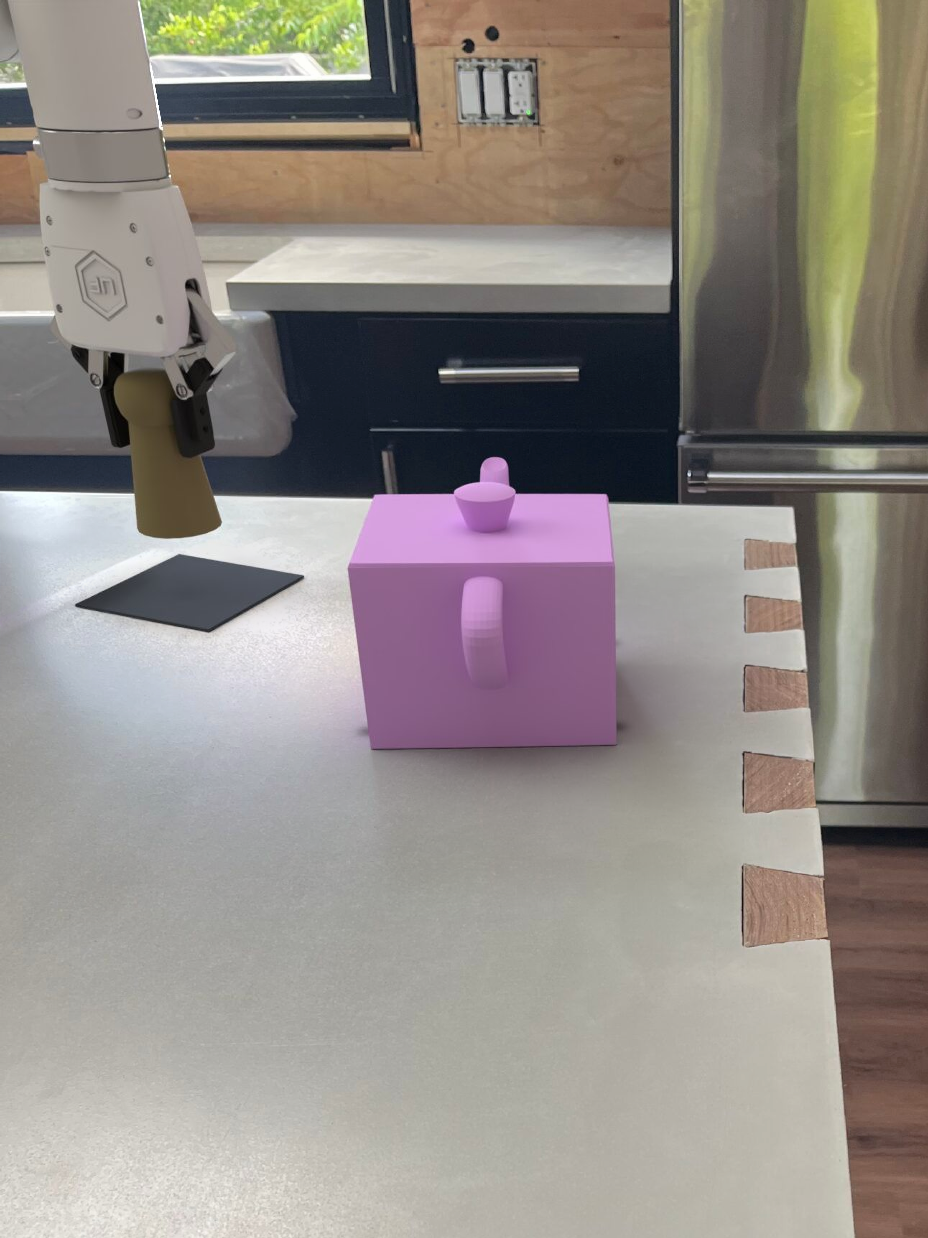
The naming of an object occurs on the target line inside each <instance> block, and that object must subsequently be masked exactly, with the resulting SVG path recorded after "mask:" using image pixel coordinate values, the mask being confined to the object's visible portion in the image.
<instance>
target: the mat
mask: <svg viewBox="0 0 928 1238" xmlns="http://www.w3.org/2000/svg"><path fill="white" fill-rule="evenodd" d="M303 579H305V575H304V574H299V573H293V572H287V571H280V570H275V569H269V568H264V567H257V566H251V565H245V564H240V563H234V562H228V561H222V560H216V559H211V558H205V557H199V556H193V555H189V554H181V553H177V554H176V555H174V556H172V557H169V558H167V559H166V560H164V561H162V562H160V563H157V564H155V565H153V566H151V567H149V568H146V569H145V570H143V571H140V572H139V573H136V574H134V575H132V576H130V577H128V578H126V579H124V580H122V581H120V582H118V583H116V584H114V585H112V586H109V587H107V588H106V589H103V590H101V591H99V592H97V593H95V594H94V595H91V596H88V597H87V598H85V599H83V600H80V601H78V602H77V603H74V606H75V608H81V609H86V610H91V611H95V612H102V613H108V614H113V615H118V616H123V617H129V618H134V619H139V620H144V621H149V622H154V623H159V624H165V625H169V626H170V625H171V626H175V627H180V628H185V629H186V628H187V629H191V630H196V631H202V632H206V633H210V632H211V631H213V630H216V629H217V628H219V627H220V626H222V625H224V624H226V623H227V622H229V621H231V620H233V619H234V618H237V617H238V616H239V615H242V614H243V613H245V612H246V611H248V610H251V609H252V608H254V607H256V606H257V605H259V604H261V603H263V602H264V601H266V600H268V599H269V598H272V597H273V596H275V595H276V594H278V593H280V592H282V591H283V590H285V589H287V588H289V587H290V586H292V585H294V584H296V583H298V582H299V581H301V580H303Z"/></svg>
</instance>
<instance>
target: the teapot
mask: <svg viewBox="0 0 928 1238" xmlns="http://www.w3.org/2000/svg"><path fill="white" fill-rule="evenodd" d="M479 471H480V474H479V481H477V482H472V483H471V482H470V483H468V484H464V485H461V486H460V487H458V488H456V489H454V491H453V493H418V494H417V493H411V494H410V493H409V494H407V493H404V494H403V493H401V494H400V493H399V494H397V493H395V494H391V493H390V494H389V493H388V494H373V498H372V501H371V503H370V506H369V509H368V511H367V514H366V517H365V519H364V522H363V525H362V528H361V530H360V533H359V536H358V539H357V541H356V544H355V546H354V548H353V552H352V555H351V557H350V560H349V562H348V564H347V574H348V575H347V577H348V583H349V591H350V598H351V607H352V614H353V615H352V616H353V621H354V629H355V635H356V636H355V637H356V644H357V645H356V646H357V653H358V660H359V668H360V676H361V684H362V691H363V700H364V707H365V714H366V722H367V730H368V731H367V732H368V737H369V738H368V739H369V746H370V750H390V749H398V750H399V749H447V748H448V749H451V748H452V749H454V748H455V749H457V748H460V749H461V748H511V747H516V748H517V747H520V748H521V747H564V746H567V747H569V746H571V747H572V746H573V747H575V746H577V747H578V746H617V745H618V741H617V735H618V734H617V732H618V731H617V638H616V637H617V633H616V631H617V630H616V629H617V625H616V619H617V618H616V562H615V552H614V543H613V532H612V523H611V515H610V514H611V513H610V512H611V511H610V504H609V496H608V495H607V494H606V493H516V489H514V488H513V486H510V477H509V475H510V474H509V465H508V463H507V461H506V460H505V459H504V458H503V457H498V456H492V457H489V458H486V459H485V460H484V461H483V462H482V464H481V467H480V470H479Z"/></svg>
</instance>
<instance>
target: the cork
mask: <svg viewBox="0 0 928 1238" xmlns="http://www.w3.org/2000/svg"><path fill="white" fill-rule="evenodd" d="M114 397H115V401H116V404H117V406H118V408H119V410H120V412H121V414H122V415H123V416H124V417H125V418H126V419H127V420H128V423H129V435H130V445H129V447H130V459H131V470H132V471H131V472H132V483H133V496H134V505H135V507H134V508H135V517H136V519H135V521H136V529H137V531H138V533H139V534H141V535H143V536H146V537H150V538H154V539H163V540H164V539H166V540H170V539H187V538H195V537H198V536H202V535H206V534H208V533H211V532H214V531H215V530H217V529H219V528H220V527H221V526H222V523H223V521H222V518H221V514H220V511H219V507H218V504H217V501H216V499H215V496H214V493H213V490H212V487H211V484H210V481H209V478H208V474H207V472H206V468H205V465H204V462H203V459H202V454H200V455H197V456H195V457H192V458H186V457H183V456H182V455H181V454H180V452H179V448H178V442H177V437H176V432H175V427H174V422H173V417H172V412H171V407H170V402H171V401H170V399H173V398H176V397H177V395H176V393H175V391H174V389H173V387H172V384H171V382H170V380H169V377H168V375H167V373H166V370H165V368H164V367H157V366H151V367H149V366H147V367H139V368H135V369H131V370H130V369H129V371H127V372H124V373H122V374H121V375H120V376H119V377H118V378H117V380H116V382H115V385H114Z"/></svg>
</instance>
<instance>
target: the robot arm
mask: <svg viewBox="0 0 928 1238" xmlns="http://www.w3.org/2000/svg"><path fill="white" fill-rule="evenodd" d="M147 42H148V41H147V37H146V31H145V26H144V20H143V14H142V8H141V3H140V0H0V64H6V63H8V64H10V63H21V66H22V71H23V75H24V76H23V77H24V80H25V84H26V89H27V94H28V98H29V102H30V106H31V109H32V116H33V120H34V125H35V127H36V133H37V135H36V136H35V137H34V138H33V141H32V148H33V151H34V153H35V155H36V156H37V157H38V158H39V159H42V160H43V164H44V169H45V174H46V178H47V181H46V182H41V183H39V222H40V232H41V241H42V249H43V256H44V257H43V258H44V264H45V269H46V275H47V282H48V287H49V292H50V293H49V294H50V297H51V302H52V307H53V308H52V309H53V312H54V315H53V318H52V320H51V322H50V325H49V331H50V333H51V334H52V336H53V337H54V338H55V339H56V340H57V341H58V342H60V344H62V345H63V347H65V349H67V351H69V352H71V355H72V357H73V359H74V360H75V361H76V363H78V365H79V366H80V367H81V368H82V369H83V371H85V372H86V373H87V379H88V382H89V384H90V385H91V386H92V388H94V389H95V390H99V394H100V400H101V403H102V408H103V413H104V417H105V421H106V426H107V430H108V436H109V439H110V443H111V444H110V445H111V446H112V447H114V448H117V449H118V448H119V449H123V448H125V447H128V446H130V435H129V423H128V420H127V419H126V418H125V417H124V416H123V415H122V414H121V412H120V410H119V408H118V406H117V404H116V401H115V397H114V385H115V382H116V380H117V378H118V377H119V376H120V375H121V374H122V373H124V372H127V371H130V355H134V356H142V357H143V356H144V357H155V358H159V359H160V361H161V364H162V366H163V368H165V370H166V373H167V375H168V377H169V380H170V382H171V384H172V387H173V389H174V391H175V393H176V395H177V397H176V398H173V399H170V401H171V402H170V407H171V412H172V417H173V422H174V427H175V432H176V437H177V442H178V448H179V452H180V454H181V455H182V456H183V457H186V458H192V457H195V456H197V455H202V454H204V453H207V452H209V451H212V450H214V448H215V447H216V441H215V440H216V439H215V436H214V435H215V434H214V426H213V421H212V416H211V410H210V405H209V398H208V393H210V392H212V391H213V390H214V385H215V384H214V383H215V381H216V380H217V378H218V377H219V375H220V374H221V373H222V371H223V368H224V367H225V366H226V365H227V364H228V363H229V362H230V360H231V359H232V358H233V357H234V356H235V355H236V353H237V352H238V344H237V342H236V341H235V340H234V338H233V337H232V335H231V334H230V333H229V332H228V330H227V329H226V328H225V327H224V325H223V324H222V323H221V321H220V320H219V319H218V317H217V316H216V315H215V313H214V312H213V308H212V301H211V297H210V291H209V287H208V281H207V277H206V272H205V269H204V263H203V260H202V256H201V252H200V247H199V245H198V240H197V237H196V234H195V231H194V228H193V224H192V221H191V218H190V215H189V212H188V209H187V206H186V203H185V200H184V198H183V195H182V192H181V190H180V187H179V186H178V185H174V184H173V183H172V178H171V172H170V167H169V166H170V165H169V162H168V155H167V151H166V150H167V149H166V144H165V138H164V132H163V127H161V126H162V121H161V115H160V110H159V105H158V99H157V93H156V87H155V82H154V76H153V70H152V65H151V59H150V54H149V49H148V43H147ZM201 346H202V347H203V346H205V347H204V351H203V352H202V351H201V349H200V347H201ZM181 358H183V359H184V362H185V364H186V367H187V369H188V370H186V369H185V366H184V363H183V360H182V359H181Z"/></svg>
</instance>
